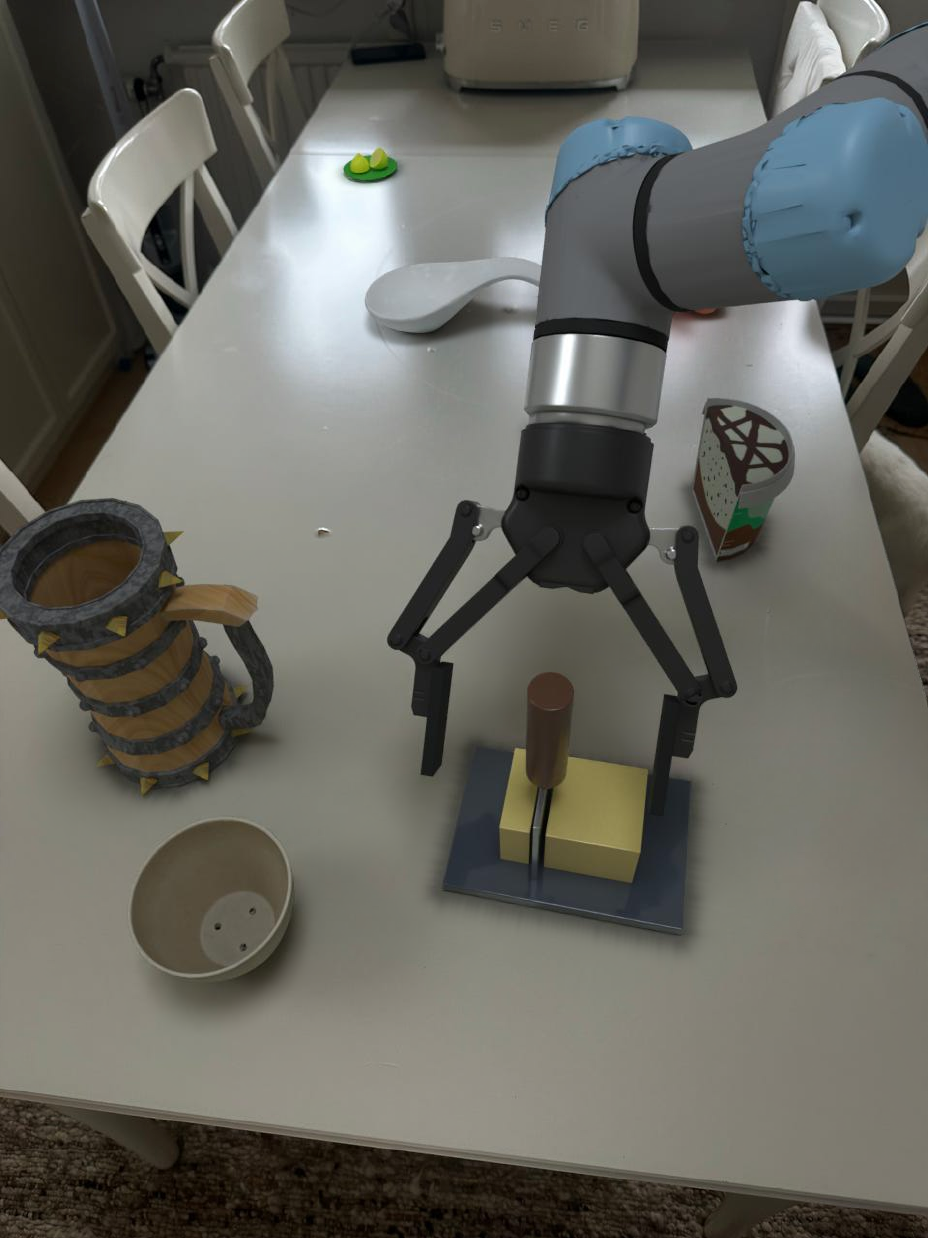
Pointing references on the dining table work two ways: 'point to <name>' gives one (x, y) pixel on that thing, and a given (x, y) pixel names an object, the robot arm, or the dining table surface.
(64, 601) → the mug
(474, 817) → the butter dish
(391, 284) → the spoon rest
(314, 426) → the dining table surface
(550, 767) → the knife
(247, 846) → the flower pot
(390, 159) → the lemon
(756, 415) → the food container
